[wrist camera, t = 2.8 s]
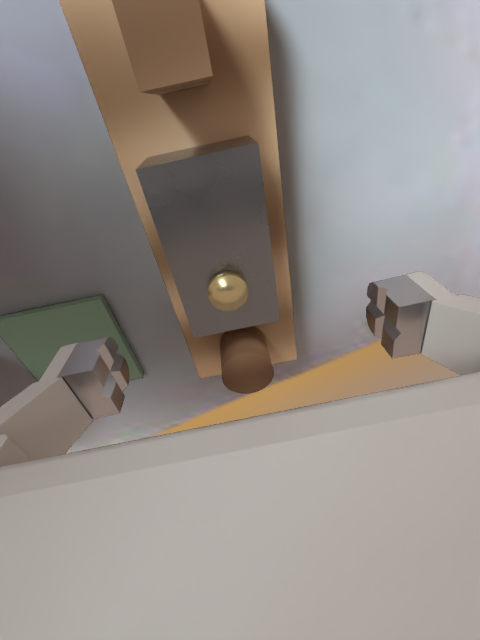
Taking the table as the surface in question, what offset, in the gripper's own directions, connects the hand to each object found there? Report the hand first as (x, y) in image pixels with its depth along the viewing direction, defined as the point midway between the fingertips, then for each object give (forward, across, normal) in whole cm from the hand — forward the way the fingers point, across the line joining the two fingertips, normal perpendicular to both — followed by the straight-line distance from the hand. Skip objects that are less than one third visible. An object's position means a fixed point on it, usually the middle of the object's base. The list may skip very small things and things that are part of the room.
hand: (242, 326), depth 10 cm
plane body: (+12, 0, -1) cm, 12 cm away
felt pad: (+12, +14, +7) cm, 19 cm away
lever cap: (+8, 0, -1) cm, 8 cm away
